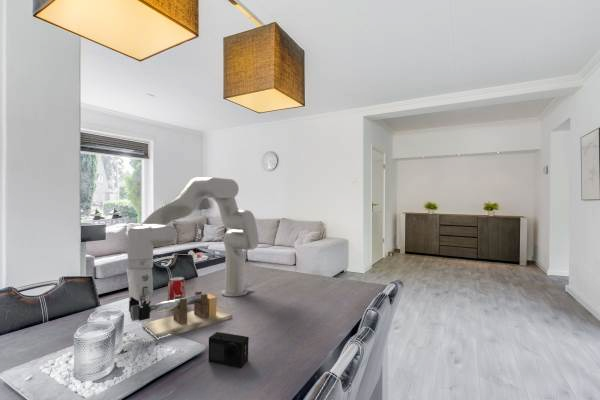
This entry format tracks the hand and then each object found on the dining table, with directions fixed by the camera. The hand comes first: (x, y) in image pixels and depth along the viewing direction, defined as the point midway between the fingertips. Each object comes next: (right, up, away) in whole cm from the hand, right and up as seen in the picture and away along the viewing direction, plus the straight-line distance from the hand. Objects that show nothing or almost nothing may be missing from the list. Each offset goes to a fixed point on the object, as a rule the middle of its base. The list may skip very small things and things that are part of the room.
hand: (139, 315), depth 99 cm
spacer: (+18, -3, +18) cm, 25 cm away
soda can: (0, -8, +29) cm, 30 cm away
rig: (+13, -7, +13) cm, 19 cm away
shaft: (+7, -2, +7) cm, 10 cm away
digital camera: (+33, -8, -15) cm, 37 cm away
